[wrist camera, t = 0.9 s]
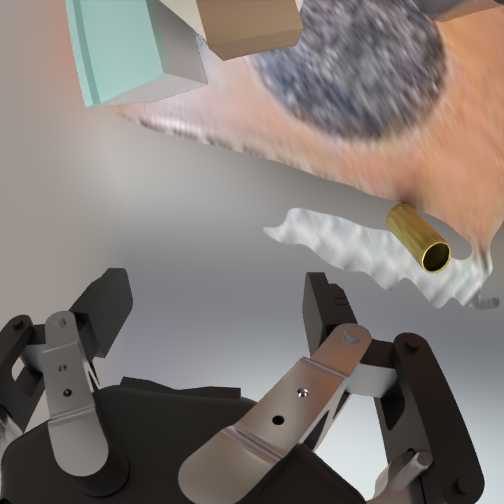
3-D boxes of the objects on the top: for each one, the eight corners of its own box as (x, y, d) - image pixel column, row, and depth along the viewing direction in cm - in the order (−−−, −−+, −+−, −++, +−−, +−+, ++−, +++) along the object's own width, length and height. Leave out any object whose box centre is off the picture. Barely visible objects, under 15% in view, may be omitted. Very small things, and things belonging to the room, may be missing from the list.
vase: (379, 220, 48) (411, 261, 36) (402, 196, 46) (441, 229, 33) (399, 240, 50) (432, 283, 37) (421, 217, 47) (460, 254, 35)
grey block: (126, -18, 30) (72, -50, 14) (174, -38, 28) (135, -84, 13) (155, 102, 41) (98, 106, 26) (207, 84, 40) (172, 74, 24)
